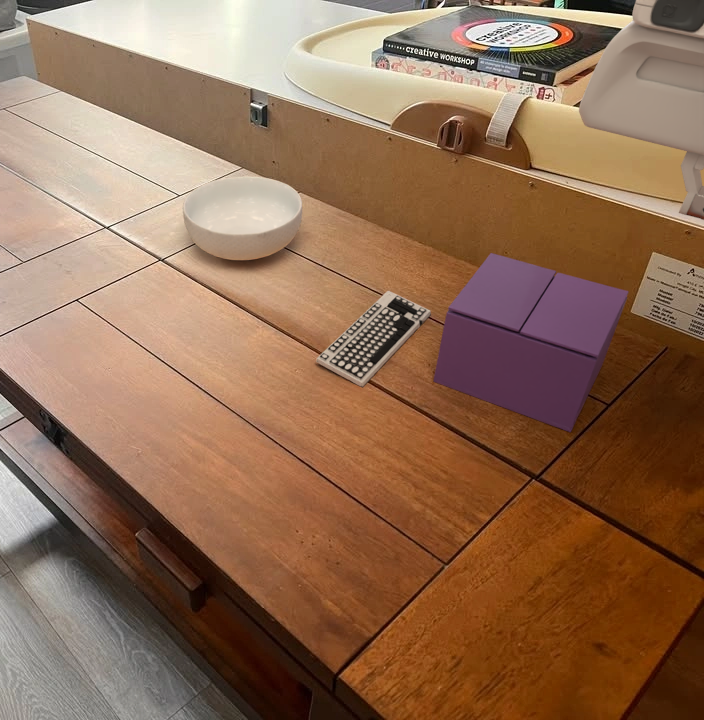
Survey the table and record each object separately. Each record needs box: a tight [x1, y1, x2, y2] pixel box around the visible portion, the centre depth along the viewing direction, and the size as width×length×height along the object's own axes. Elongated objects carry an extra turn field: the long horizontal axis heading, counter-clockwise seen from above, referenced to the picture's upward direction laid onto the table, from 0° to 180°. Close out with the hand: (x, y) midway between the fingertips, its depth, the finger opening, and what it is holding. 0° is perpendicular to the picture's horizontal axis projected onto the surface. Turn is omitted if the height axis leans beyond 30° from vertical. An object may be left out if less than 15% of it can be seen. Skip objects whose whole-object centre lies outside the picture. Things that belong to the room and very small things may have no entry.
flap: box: [520, 272, 629, 357], centre depth 78 cm, size 7×13×1 cm, turn 146°
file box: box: [432, 252, 628, 433], centre depth 83 cm, size 15×13×10 cm
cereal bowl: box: [182, 175, 303, 261], centre depth 107 cm, size 17×17×7 cm
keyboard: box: [315, 290, 432, 388], centre depth 91 cm, size 17×6×2 cm, turn 142°
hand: (701, 216), depth 54 cm, fingers closed
